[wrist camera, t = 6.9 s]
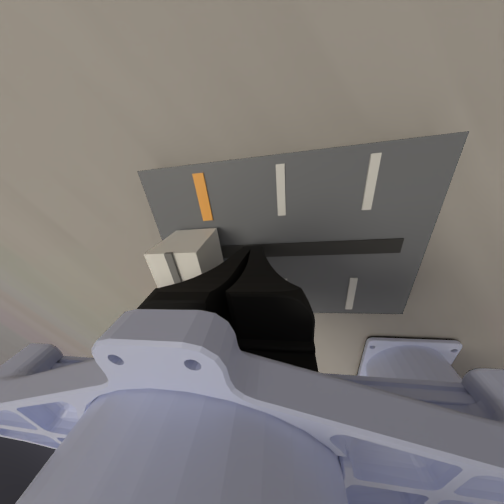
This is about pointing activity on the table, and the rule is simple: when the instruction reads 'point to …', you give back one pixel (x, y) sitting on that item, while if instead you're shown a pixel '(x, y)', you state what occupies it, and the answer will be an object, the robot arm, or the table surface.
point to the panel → (321, 214)
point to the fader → (184, 255)
